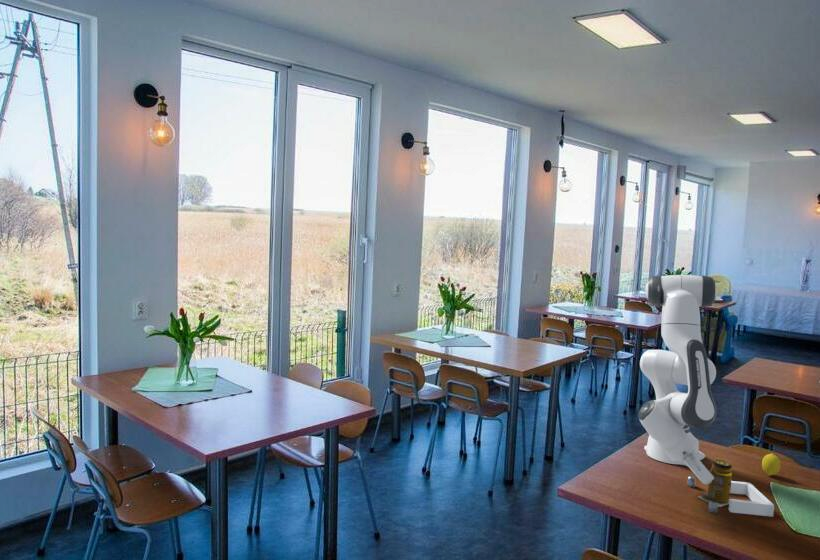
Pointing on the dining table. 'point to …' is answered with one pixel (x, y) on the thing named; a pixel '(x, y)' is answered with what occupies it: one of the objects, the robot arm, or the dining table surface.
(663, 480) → the dining table surface
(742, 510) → the holder
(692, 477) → the cylinder
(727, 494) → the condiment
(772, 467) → the lemon
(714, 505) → the cylinder
